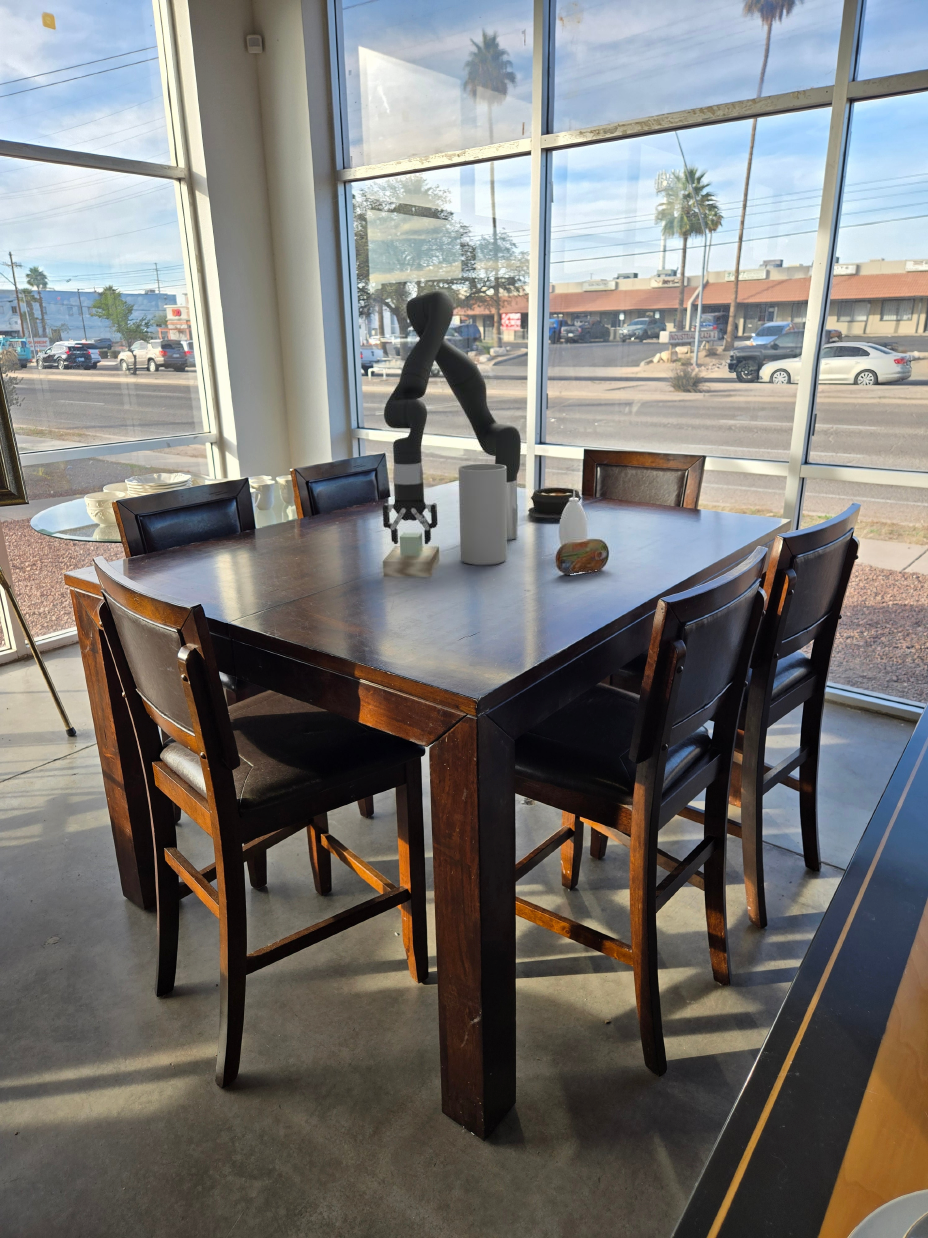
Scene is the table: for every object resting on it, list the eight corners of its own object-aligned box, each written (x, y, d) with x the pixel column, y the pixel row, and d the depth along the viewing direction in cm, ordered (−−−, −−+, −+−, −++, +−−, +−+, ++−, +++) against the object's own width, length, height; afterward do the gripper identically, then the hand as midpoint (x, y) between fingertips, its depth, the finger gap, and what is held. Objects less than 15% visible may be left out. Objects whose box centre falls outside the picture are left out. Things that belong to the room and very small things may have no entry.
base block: (439, 560, 216) (438, 546, 215) (430, 576, 201) (429, 561, 200) (395, 560, 217) (395, 545, 216) (383, 576, 202) (382, 561, 201)
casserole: (568, 525, 254) (568, 499, 251) (515, 520, 262) (515, 495, 260) (594, 511, 275) (595, 486, 272) (544, 507, 283) (544, 483, 281)
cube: (422, 551, 210) (422, 532, 208) (419, 555, 205) (418, 536, 204) (404, 550, 210) (403, 532, 209) (400, 555, 206) (399, 536, 204)
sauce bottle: (586, 557, 216) (587, 491, 210) (557, 556, 217) (558, 490, 211) (587, 550, 223) (589, 486, 217) (559, 549, 225) (560, 485, 219)
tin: (560, 578, 198) (560, 545, 195) (553, 575, 200) (553, 542, 198) (609, 569, 204) (610, 537, 201) (601, 567, 207) (602, 535, 204)
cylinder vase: (483, 552, 224) (482, 462, 216) (516, 559, 215) (516, 466, 207) (451, 560, 216) (448, 467, 207) (484, 568, 207) (482, 472, 199)
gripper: (438, 478, 204) (440, 540, 210) (384, 478, 206) (387, 540, 211) (434, 483, 197) (436, 547, 203) (377, 483, 199) (381, 546, 204)
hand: (411, 543), depth 207 cm, fingers open, 7 cm apart
